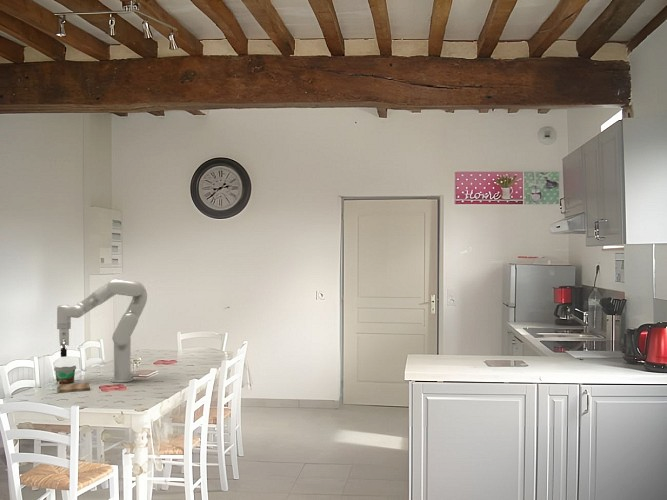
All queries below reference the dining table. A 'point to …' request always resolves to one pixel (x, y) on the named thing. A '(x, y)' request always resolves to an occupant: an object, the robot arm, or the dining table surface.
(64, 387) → the shelf board
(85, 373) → the dining table surface
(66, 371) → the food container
